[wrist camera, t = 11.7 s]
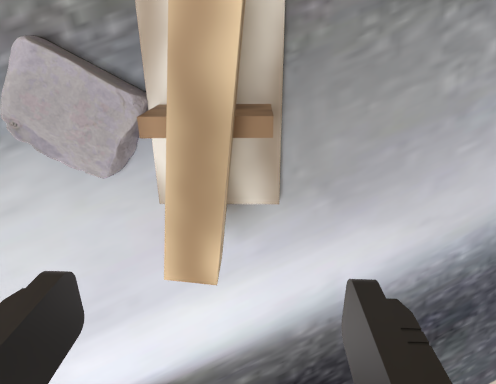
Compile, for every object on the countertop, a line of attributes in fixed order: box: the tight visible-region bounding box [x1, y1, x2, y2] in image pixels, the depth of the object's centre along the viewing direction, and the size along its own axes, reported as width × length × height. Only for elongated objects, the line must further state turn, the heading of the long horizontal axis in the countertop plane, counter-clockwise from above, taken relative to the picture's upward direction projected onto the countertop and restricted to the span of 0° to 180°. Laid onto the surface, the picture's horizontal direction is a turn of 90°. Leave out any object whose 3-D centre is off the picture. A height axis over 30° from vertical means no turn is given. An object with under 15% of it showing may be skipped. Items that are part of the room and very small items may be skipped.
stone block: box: [0, 36, 148, 178], centre depth 31 cm, size 12×5×10 cm
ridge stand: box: [135, 0, 285, 204], centre depth 29 cm, size 12×18×8 cm, turn 1°
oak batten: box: [164, 0, 246, 285], centre depth 23 cm, size 4×22×4 cm, turn 174°
